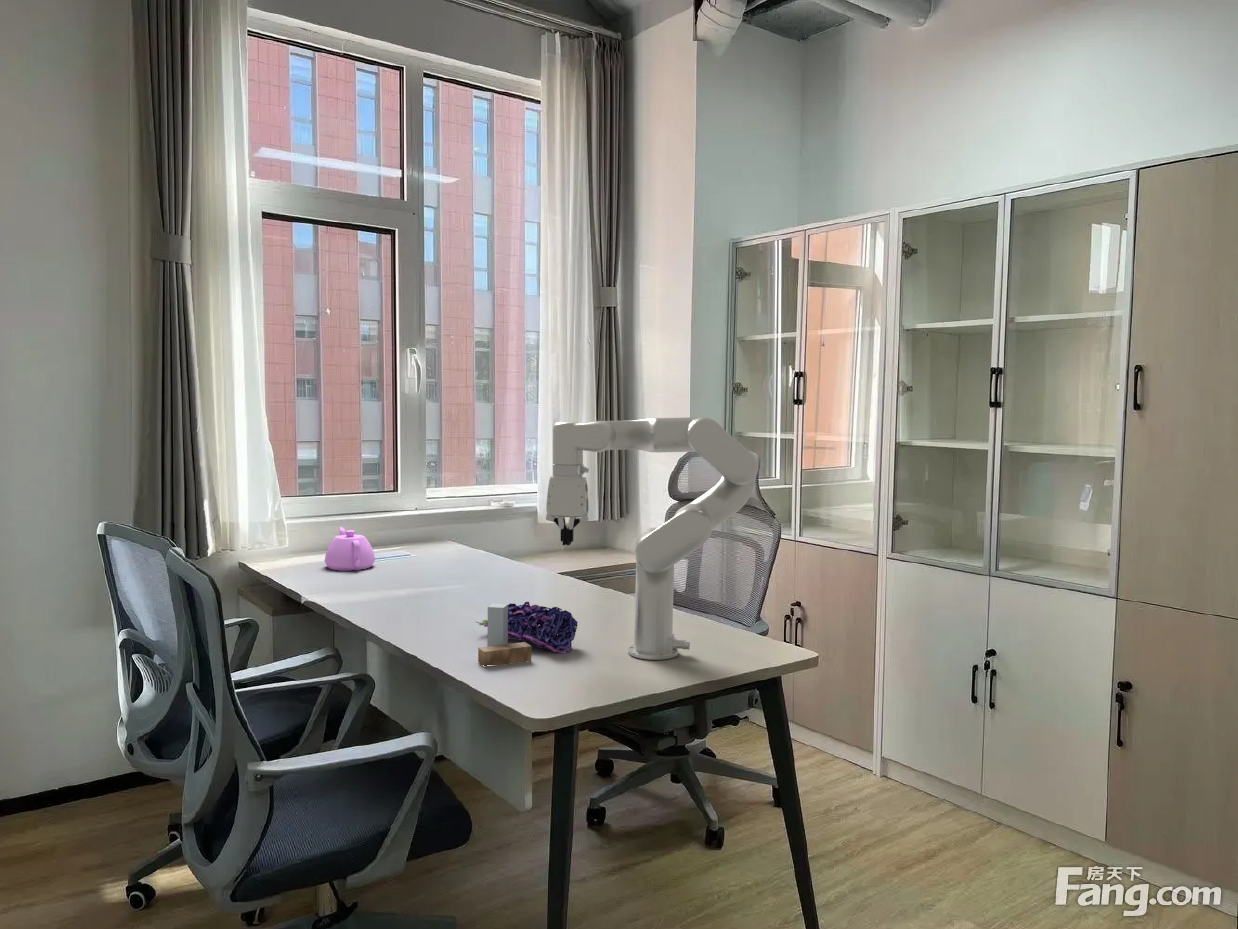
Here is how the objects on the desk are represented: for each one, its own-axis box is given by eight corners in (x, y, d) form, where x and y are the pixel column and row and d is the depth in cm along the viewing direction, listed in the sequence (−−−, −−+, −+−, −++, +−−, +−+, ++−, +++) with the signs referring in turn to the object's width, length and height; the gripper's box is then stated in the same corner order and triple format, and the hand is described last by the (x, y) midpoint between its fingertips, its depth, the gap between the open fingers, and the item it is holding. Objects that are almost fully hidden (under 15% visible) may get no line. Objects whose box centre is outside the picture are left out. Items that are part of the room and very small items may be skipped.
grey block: (507, 651, 230) (507, 604, 229) (503, 655, 226) (503, 607, 225) (492, 650, 230) (492, 603, 229) (487, 654, 226) (487, 607, 225)
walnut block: (524, 642, 225) (478, 647, 219) (531, 646, 221) (484, 651, 216) (524, 658, 225) (478, 664, 219) (531, 662, 222) (484, 668, 216)
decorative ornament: (546, 630, 223) (463, 608, 241) (553, 668, 226) (471, 643, 245) (581, 606, 232) (499, 587, 251) (588, 643, 236) (506, 621, 254)
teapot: (383, 570, 333) (383, 533, 332) (333, 574, 324) (333, 536, 323) (363, 559, 354) (363, 524, 353) (316, 563, 345) (316, 527, 344)
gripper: (599, 471, 231) (598, 543, 232) (541, 469, 233) (541, 541, 234) (594, 473, 223) (593, 548, 225) (534, 471, 225) (534, 545, 227)
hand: (566, 544), depth 229 cm, fingers closed
